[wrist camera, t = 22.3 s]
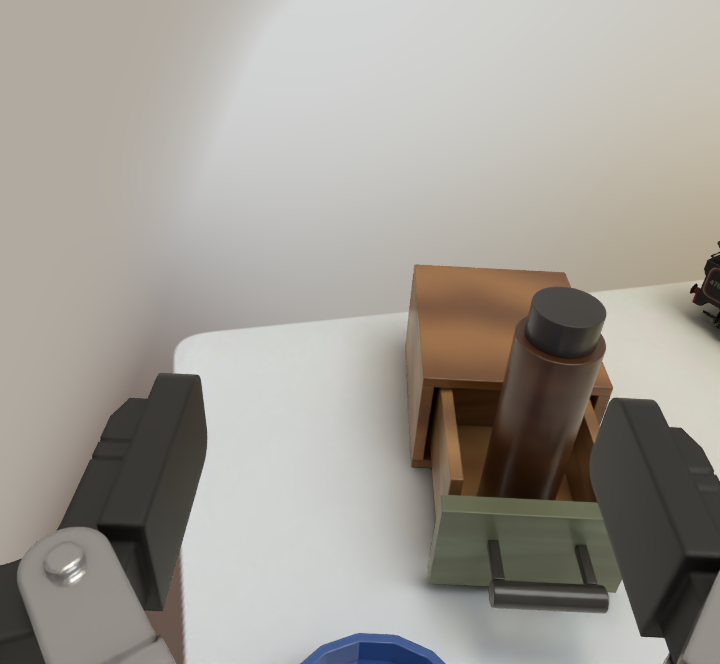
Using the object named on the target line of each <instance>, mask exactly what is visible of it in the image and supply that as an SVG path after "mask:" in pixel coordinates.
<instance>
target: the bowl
mask: <svg viewBox="0 0 720 664" xmlns="http://www.w3.org/2000/svg"><path fill="white" fill-rule="evenodd" d="M301 664H445V663H444V662H443V661H442V660H441V659H440V658H439V657H438V656H437V655H436V654H435V653H434V652H433V651H431V650H429V649H427V648H424V647H422V646H420V645H418V644H415V643H413V642H411V641H409V640H406V639H404V638H402V637H400V636H397V635H387V634H366V633H357V634H354V635H351V636H348V637H345V638H342V639H339V640H336V641H333V642H330V643H328V644H325V645H322V646H320V647H319V648H318V649H317V650H316V651H315V652H313V653H312V654H311V655H310V656H309V657H308V658H306V659H305V660H304V661H303V662H302V663H301Z"/></svg>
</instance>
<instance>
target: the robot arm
mask: <svg viewBox="0 0 720 664" xmlns="http://www.w3.org/2000/svg"><path fill="white" fill-rule="evenodd" d="M206 449H207V426H206V418H205V410H204V401H203V393H202V385H201V379H200V377H199V375H192V374H173V373H159V374H158V376H157V378H156V380H155V382H154V385H153V387H152V390H151V392H150V395H149V397H148V399H140V398H129V399H128V400H127V401H126V402H125V403H124V404H123V405H122V406H121V407H120V408H119V409H118V410H117V411H115V412H114V413H113V415H111V416H110V418H109V420H108V422H107V425H106V427H105V429H104V431H103V433H102V435H101V440H100V442H98V444H97V447H96V448H95V450H94V453H93V455H92V460H90V461H89V463H88V466H87V468H86V470H85V472H84V474H83V476H82V479H81V481H80V483H79V485H78V487H77V489H76V492H75V494H74V496H73V498H72V500H71V502H70V505H69V507H68V509H67V511H66V514H65V516H64V518H63V520H62V522H61V524H60V526H59V527H58V529H57V531H55V532H52V533H50V534H49V535H47V536H45V537H43V538H42V539H40V540H39V541H37V542H36V543H35V544H34V545H33V546H32V547H31V548H30V549H29V550H28V551H27V552H26V554H25V555H24V557H23V558H22V559H19V560H17V561H14V562H11V563H8V564H5V565H0V664H176V662H175V660H174V659H173V657H172V655H171V653H170V651H169V649H168V647H167V645H166V643H165V642H164V640H163V639H162V637H161V636H157V635H156V634H155V632H154V630H153V628H152V626H151V624H150V622H149V620H148V618H147V617H146V614H145V612H144V610H149V611H163V608H164V605H165V601H166V597H167V594H168V591H169V587H170V583H171V580H172V576H173V573H174V569H175V566H176V562H177V558H178V555H179V551H180V548H181V544H182V541H183V537H184V533H185V530H186V526H187V523H188V519H189V515H190V512H191V508H192V505H193V501H194V498H195V494H196V490H197V487H198V483H199V480H200V476H201V473H202V469H203V465H204V461H205V457H206ZM589 470H590V479H591V484H592V487H593V490H594V493H595V496H596V499H597V502H598V505H599V509H600V512H601V515H602V518H603V521H604V524H605V527H606V530H607V533H608V536H609V539H610V542H611V546H612V549H613V552H614V555H615V558H616V561H617V564H618V567H619V570H620V573H621V576H622V579H623V583H624V586H625V589H626V592H627V595H628V598H629V601H630V604H631V607H632V610H633V613H634V616H635V620H636V623H637V626H638V629H639V632H640V635H641V637H659V638H665V641H666V644H667V646H668V649H669V654H668V656H667V657H666V659H665V661H664V663H663V664H720V481H719V479H718V477H717V475H714V470H713V468H712V466H711V464H710V462H709V460H708V458H707V456H706V454H705V452H704V451H703V449H702V447H701V446H700V445H698V444H697V443H696V442H695V441H694V440H693V439H692V438H691V437H690V436H689V435H688V434H687V433H686V432H685V431H684V430H683V429H682V428H676V427H669V426H668V424H667V422H666V420H665V418H664V416H663V414H662V411H661V409H660V407H659V406H658V404H657V403H656V402H655V401H654V400H648V399H629V398H613V399H612V400H611V401H610V402H609V404H608V407H607V409H606V412H605V415H604V418H603V421H602V423H601V426H600V429H599V432H598V434H597V437H596V440H595V443H594V446H593V448H592V451H591V455H590V464H589Z"/></svg>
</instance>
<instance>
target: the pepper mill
mask: <svg viewBox="0 0 720 664" xmlns="http://www.w3.org/2000/svg"><path fill="white" fill-rule="evenodd" d="M605 318H606V310H605V307H604V306H603V304H602V303H601V302H600V301H599V300H598V299H596V298H595V297H593V296H592V295H590V294H588V293H586V292H583V291H581V290H577V289H574V288H569V287H557V286H556V287H547V288H544V289H541V290H539V291H538V292H536V293H535V294H534V296H533V297H532V301H531V305H530V309H529V313H528V315H527V316H525V317H523V318H522V319H521V320H520V321H519V322H518V323H517V325H516V328H515V332H514V336H513V340H512V345H511V349H510V353H509V358H508V362H507V367H506V371H505V375H504V380H503V384H502V388H501V393H500V397H499V402H498V406H497V410H496V415H495V419H494V423H493V428H492V432H491V437H490V441H489V445H488V450H487V454H486V458H485V463H484V467H483V472H482V476H481V480H480V485H479V489H478V493H477V497H496V498H516V499H536V500H556V497H557V494H558V491H559V488H560V485H561V482H562V479H563V476H564V473H565V470H566V467H567V464H568V461H569V458H570V455H571V452H572V449H573V446H574V443H575V440H576V437H577V434H578V431H579V428H580V425H581V422H582V419H583V416H584V413H585V410H586V407H587V404H588V401H589V398H590V395H591V392H592V389H593V386H594V383H595V380H596V377H597V375H598V372H599V369H600V366H601V363H602V360H603V357H604V354H605V351H606V344H605V340H604V338H603V336H602V335H601V331H602V327H603V324H604V321H605Z"/></svg>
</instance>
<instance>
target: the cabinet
mask: <svg viewBox="0 0 720 664" xmlns="http://www.w3.org/2000/svg"><path fill="white" fill-rule="evenodd" d="M556 286H557V287H569V288H571V286H570V284H569V281H568V279H567V277H566V274H565V273H564V272H545V271H526V270H508V269H489V268H470V267H452V266H432V265H414V273H413V281H412V290H411V299H410V308H409V317H408V326H407V335H406V344H405V349H406V370H407V390H408V411H409V431H410V452H411V467H423V468H432V465H431V453H430V440H429V428H428V424H429V417H430V410H431V404H432V397H433V390H434V387H442V388H461V389H480V390H499V391H501V388H502V384H503V380H504V375H505V371H506V367H507V362H508V358H509V353H510V349H511V345H512V340H513V336H514V332H515V328H516V325H517V323H518V322H519V321H520V320H521V319H522V318H523V317H525V316H527V315H528V313H529V309H530V305H531V301H532V297H533V296H534V294H535V293H536V292H538V291H539V290H541V289H544V288H547V287H556ZM612 390H613V386H612V384H611V382H610V379H609V377H608V374H607V372H606V370H605V367H604V365H603V362H602V363H601V366H600V369H599V372H598V375H597V377H596V380H595V383H594V386H593V389H592V392H591V395H590V398H589V399H590V401H591V404H592V407H593V410H594V412H595V415H596V418H597V420H598V423H599V426H600V424H601V421H602V418H603V415H604V413H605V410H606V407H607V404H608V401H609V399H610V395H611V392H612Z"/></svg>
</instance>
